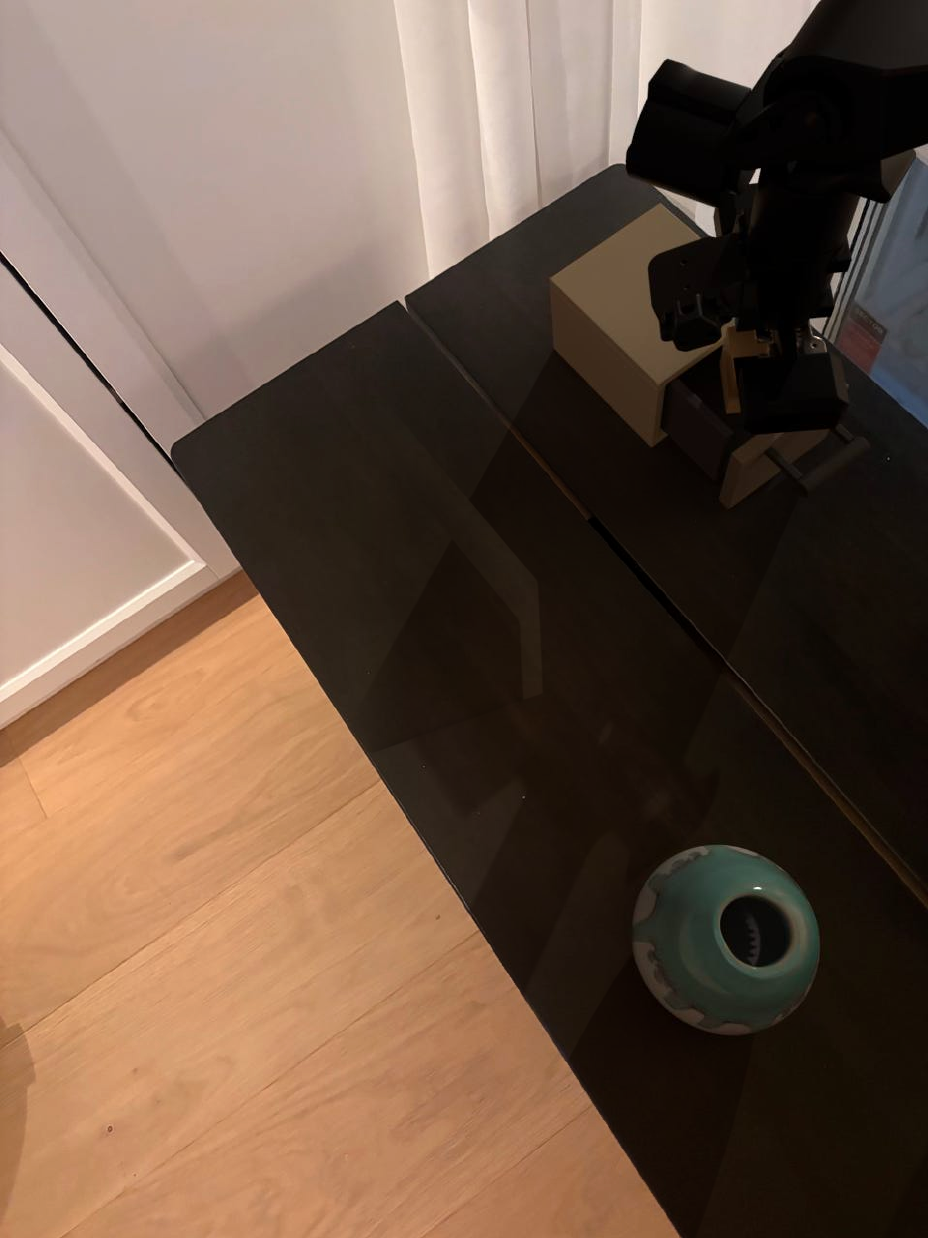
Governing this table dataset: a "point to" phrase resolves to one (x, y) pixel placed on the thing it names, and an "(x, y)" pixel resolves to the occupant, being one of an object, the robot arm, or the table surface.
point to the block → (733, 347)
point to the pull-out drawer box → (742, 438)
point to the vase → (725, 939)
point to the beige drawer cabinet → (623, 321)
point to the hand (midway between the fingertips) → (756, 377)
